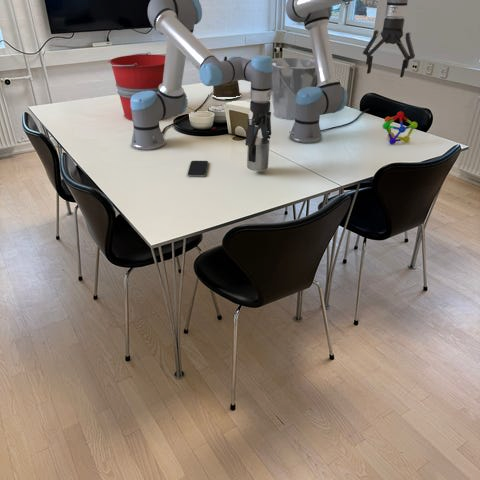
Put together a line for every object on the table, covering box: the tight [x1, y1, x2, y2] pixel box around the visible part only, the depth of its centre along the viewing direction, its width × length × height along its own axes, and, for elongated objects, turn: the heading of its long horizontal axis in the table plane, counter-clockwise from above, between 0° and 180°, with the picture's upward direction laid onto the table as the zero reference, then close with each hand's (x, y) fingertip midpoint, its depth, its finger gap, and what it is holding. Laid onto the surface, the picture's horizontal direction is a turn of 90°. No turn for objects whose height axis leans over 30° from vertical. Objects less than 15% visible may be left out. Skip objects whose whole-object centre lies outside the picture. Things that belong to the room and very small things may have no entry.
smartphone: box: [187, 160, 209, 177], centre depth 182 cm, size 7×1×15 cm
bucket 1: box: [106, 51, 167, 121], centre depth 240 cm, size 35×35×30 cm
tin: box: [246, 136, 270, 172], centre depth 176 cm, size 8×8×11 cm
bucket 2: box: [271, 56, 318, 120], centre depth 242 cm, size 30×30×28 cm
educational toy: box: [382, 110, 418, 145], centre depth 207 cm, size 16×13×15 cm
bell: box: [212, 56, 242, 97], centre depth 278 cm, size 19×26×20 cm
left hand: (257, 157), depth 177 cm, fingers closed on tin, 8 cm apart
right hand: (384, 75), depth 182 cm, fingers open, 13 cm apart
